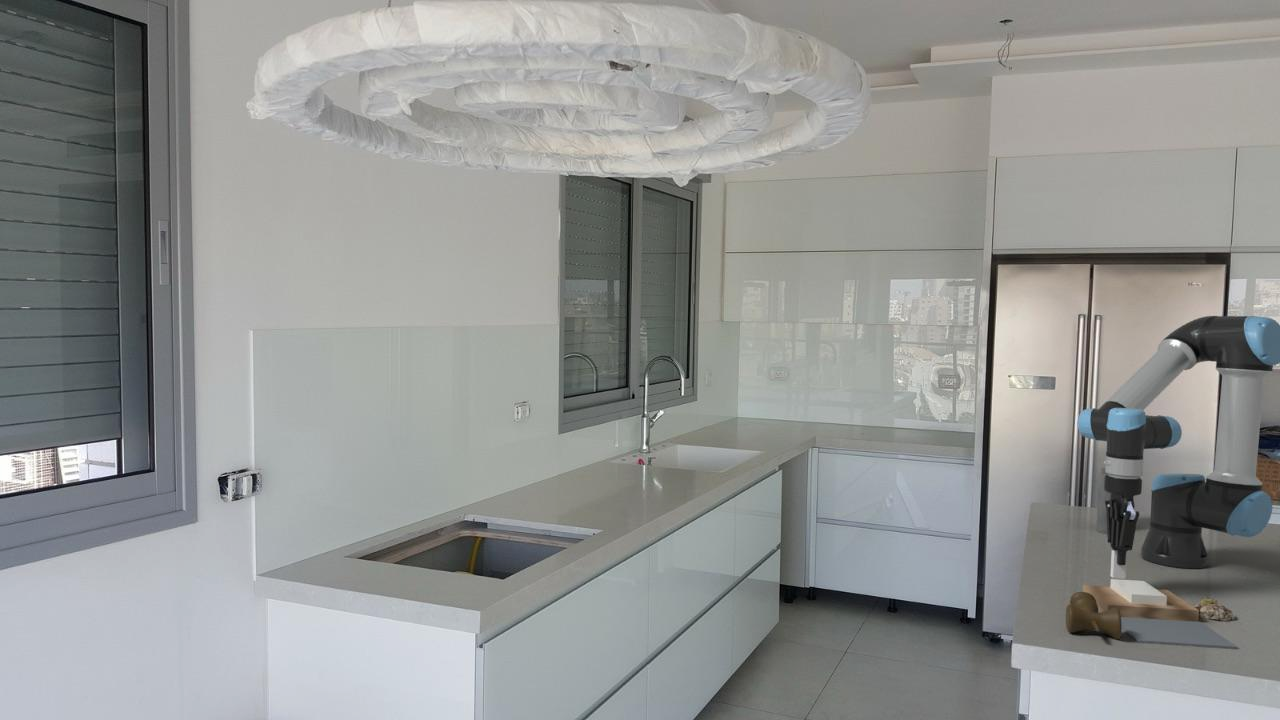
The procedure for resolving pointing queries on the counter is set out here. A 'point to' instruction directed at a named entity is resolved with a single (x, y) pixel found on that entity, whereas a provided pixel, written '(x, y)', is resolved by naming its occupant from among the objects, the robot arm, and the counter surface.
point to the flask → (1102, 503)
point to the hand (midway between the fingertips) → (1117, 577)
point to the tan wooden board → (1143, 605)
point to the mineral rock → (1213, 610)
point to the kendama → (1091, 616)
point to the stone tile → (1138, 592)
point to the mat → (1174, 632)
